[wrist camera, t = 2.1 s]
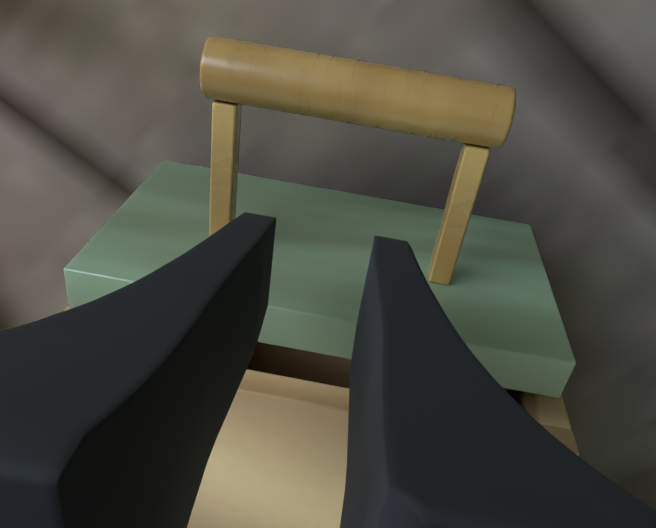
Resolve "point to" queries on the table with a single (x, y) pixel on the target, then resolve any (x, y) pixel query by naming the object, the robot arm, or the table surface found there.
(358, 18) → the table surface
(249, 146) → the table surface
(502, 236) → the drawer
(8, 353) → the robot arm
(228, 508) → the cabinet
